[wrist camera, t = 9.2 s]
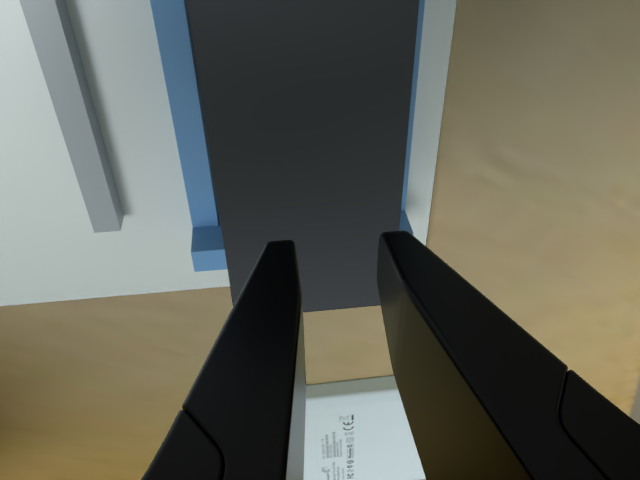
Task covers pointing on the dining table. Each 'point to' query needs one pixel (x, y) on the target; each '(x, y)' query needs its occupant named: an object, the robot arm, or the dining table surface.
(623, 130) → the dining table surface
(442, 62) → the board
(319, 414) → the external hard drive
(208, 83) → the dark gray block
